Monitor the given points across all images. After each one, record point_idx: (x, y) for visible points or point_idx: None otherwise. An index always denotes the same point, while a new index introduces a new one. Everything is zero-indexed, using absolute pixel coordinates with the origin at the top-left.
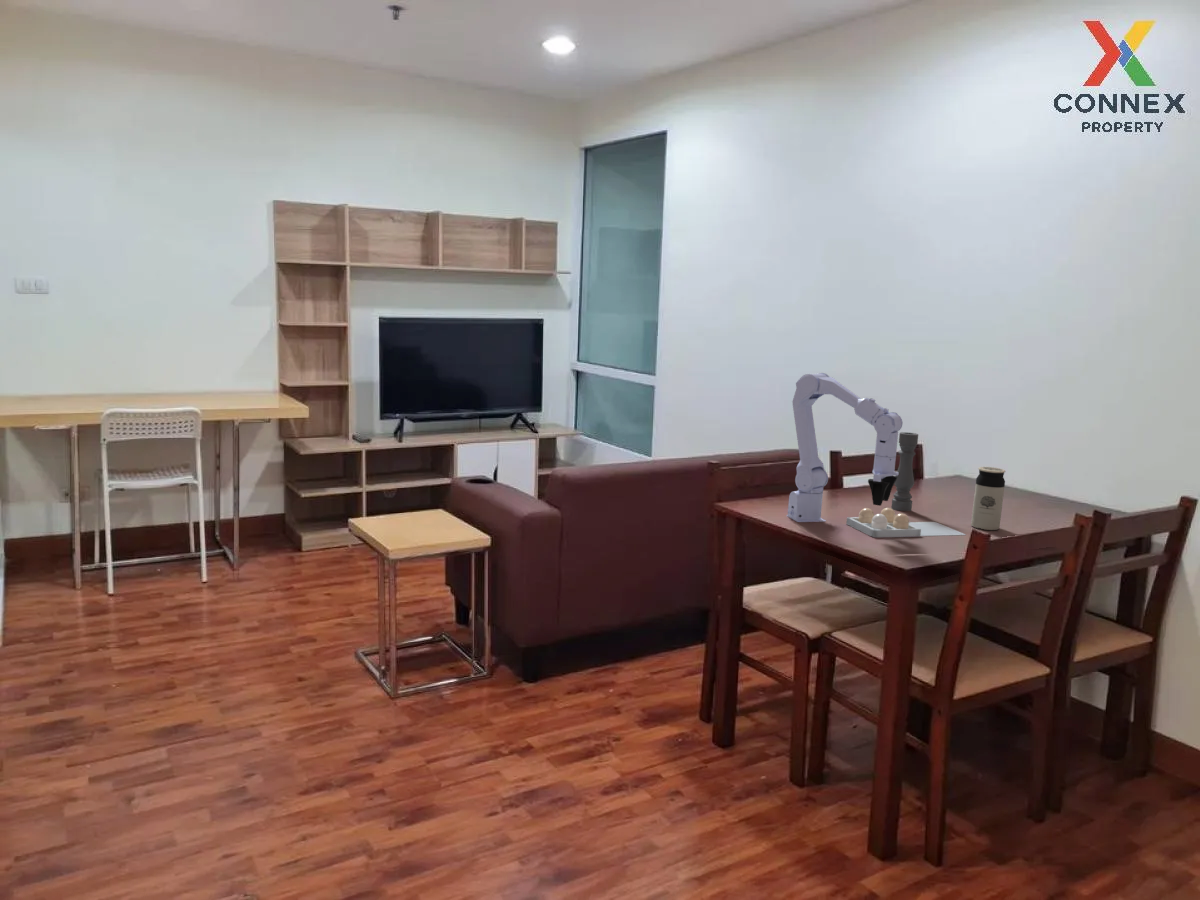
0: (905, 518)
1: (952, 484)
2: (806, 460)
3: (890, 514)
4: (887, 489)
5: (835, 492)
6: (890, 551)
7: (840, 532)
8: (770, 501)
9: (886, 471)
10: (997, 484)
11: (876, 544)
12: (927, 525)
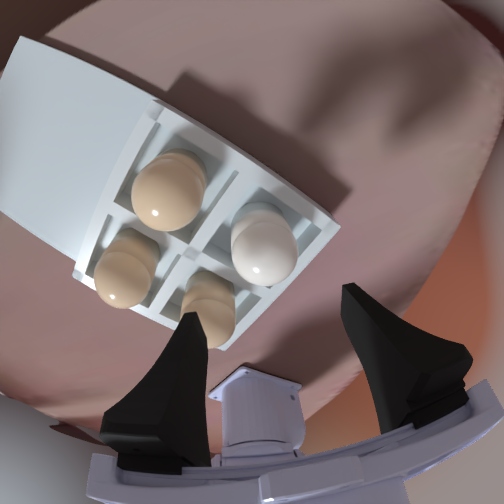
0: (178, 172)
1: None
2: None
3: (135, 265)
4: (189, 372)
5: (27, 400)
6: (431, 120)
7: (316, 307)
8: None
9: (402, 487)
10: None
11: (386, 178)
12: (11, 175)
